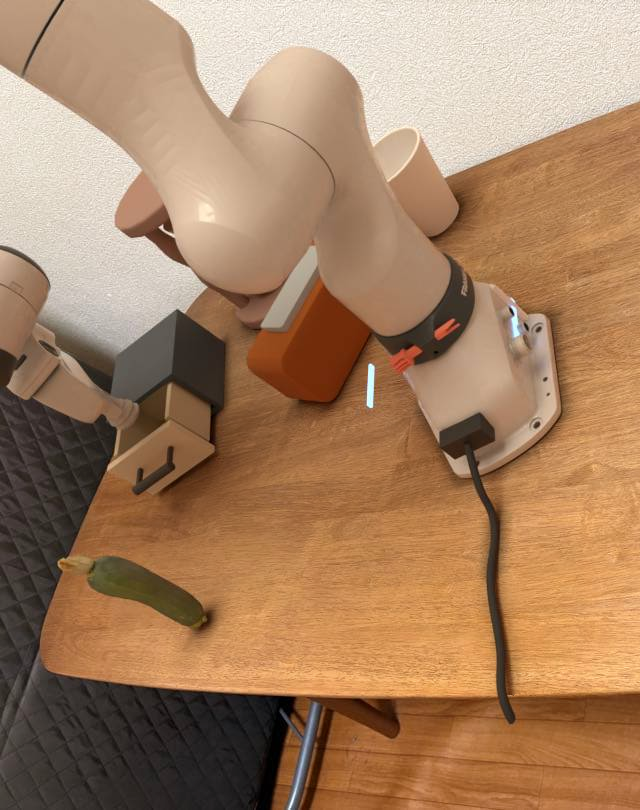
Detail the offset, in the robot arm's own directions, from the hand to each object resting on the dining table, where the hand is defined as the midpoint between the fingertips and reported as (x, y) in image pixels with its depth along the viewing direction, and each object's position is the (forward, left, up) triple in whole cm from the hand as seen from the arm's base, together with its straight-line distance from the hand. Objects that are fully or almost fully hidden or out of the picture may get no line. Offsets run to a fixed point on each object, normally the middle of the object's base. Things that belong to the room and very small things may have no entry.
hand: (114, 408), depth 117 cm
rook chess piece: (0, 0, -3) cm, 3 cm away
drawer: (0, 0, -12) cm, 12 cm away
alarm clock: (0, -32, -13) cm, 35 cm away
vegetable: (-32, -5, -13) cm, 35 cm away
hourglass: (+24, -20, -13) cm, 34 cm away
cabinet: (+12, 0, -13) cm, 18 cm away
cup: (+12, -50, -13) cm, 53 cm away
